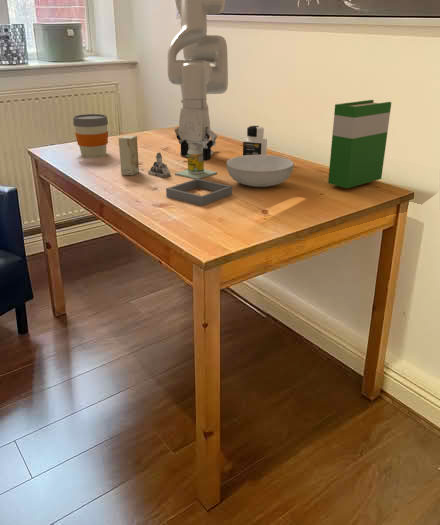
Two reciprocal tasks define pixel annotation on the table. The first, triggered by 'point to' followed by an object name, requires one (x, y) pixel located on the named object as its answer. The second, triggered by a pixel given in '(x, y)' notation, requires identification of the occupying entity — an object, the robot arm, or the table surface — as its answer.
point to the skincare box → (128, 155)
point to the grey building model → (159, 168)
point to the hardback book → (358, 142)
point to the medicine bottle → (255, 141)
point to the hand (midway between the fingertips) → (195, 157)
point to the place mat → (195, 176)
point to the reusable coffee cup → (91, 134)
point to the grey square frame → (181, 194)
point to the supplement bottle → (195, 159)
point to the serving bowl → (259, 169)
